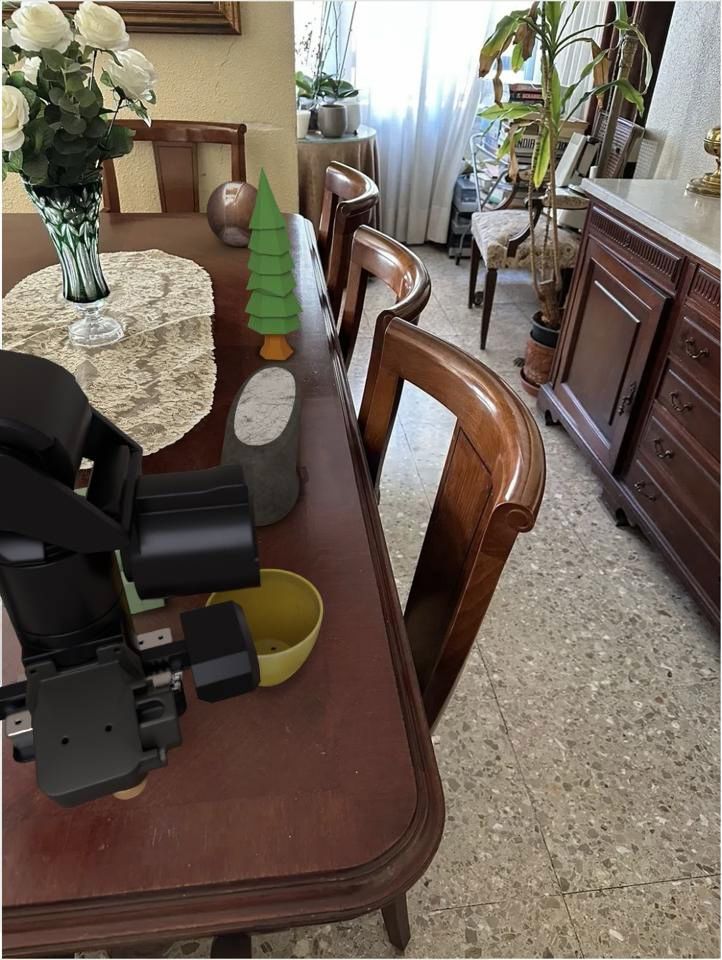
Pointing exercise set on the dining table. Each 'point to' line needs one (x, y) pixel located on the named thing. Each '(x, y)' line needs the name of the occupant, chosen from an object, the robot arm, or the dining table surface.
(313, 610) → the flower pot
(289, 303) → the decorative tree
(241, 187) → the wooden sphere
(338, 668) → the dining table surface
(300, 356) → the dining table surface
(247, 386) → the grey stone cylinder
